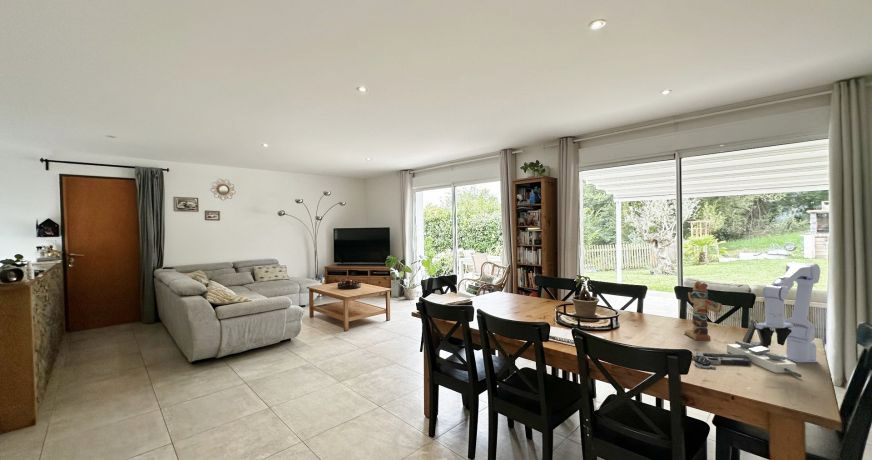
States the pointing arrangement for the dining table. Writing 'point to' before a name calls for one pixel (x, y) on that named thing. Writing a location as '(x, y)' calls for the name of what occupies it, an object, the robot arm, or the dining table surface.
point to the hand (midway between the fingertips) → (774, 344)
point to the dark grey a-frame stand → (750, 333)
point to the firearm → (719, 359)
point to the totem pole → (701, 311)
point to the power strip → (764, 360)
